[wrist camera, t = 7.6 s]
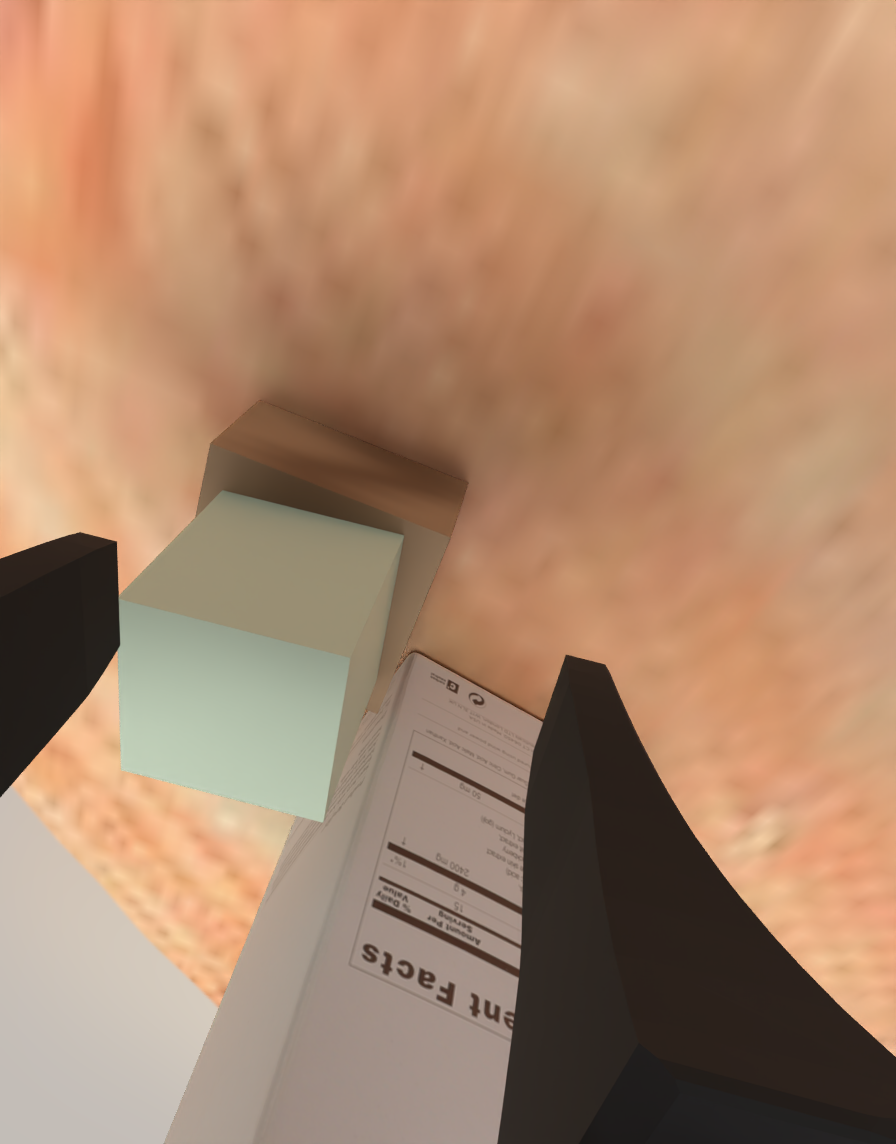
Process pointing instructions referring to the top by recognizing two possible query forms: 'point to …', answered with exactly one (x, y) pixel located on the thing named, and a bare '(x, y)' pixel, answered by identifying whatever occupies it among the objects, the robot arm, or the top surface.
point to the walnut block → (343, 500)
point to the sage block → (254, 652)
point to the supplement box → (384, 941)
